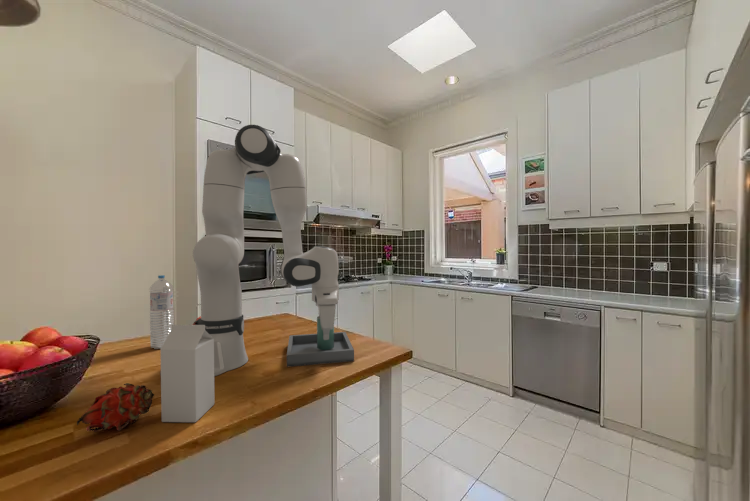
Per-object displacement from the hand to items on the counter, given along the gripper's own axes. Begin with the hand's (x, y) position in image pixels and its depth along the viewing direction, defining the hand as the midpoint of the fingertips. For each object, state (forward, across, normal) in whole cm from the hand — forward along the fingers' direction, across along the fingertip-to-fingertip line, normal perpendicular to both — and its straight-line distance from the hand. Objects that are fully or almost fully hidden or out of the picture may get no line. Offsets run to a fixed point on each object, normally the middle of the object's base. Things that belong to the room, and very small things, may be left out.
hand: (325, 336), depth 103 cm
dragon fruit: (+6, +33, -43) cm, 54 cm away
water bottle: (+6, -19, -55) cm, 59 cm away
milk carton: (+6, +31, -31) cm, 44 cm away
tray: (+5, 0, -2) cm, 6 cm away
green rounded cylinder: (+4, 0, 0) cm, 4 cm away
